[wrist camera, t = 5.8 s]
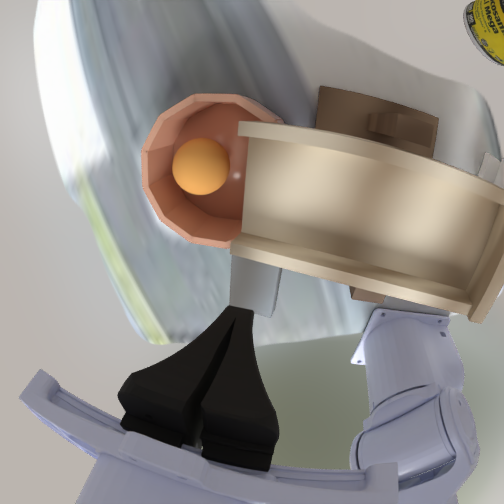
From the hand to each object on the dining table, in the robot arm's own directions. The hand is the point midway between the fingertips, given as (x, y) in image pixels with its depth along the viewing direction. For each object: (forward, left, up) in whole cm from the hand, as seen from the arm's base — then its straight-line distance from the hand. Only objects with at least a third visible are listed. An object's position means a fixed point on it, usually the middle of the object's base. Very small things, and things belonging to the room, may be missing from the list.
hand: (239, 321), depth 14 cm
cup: (+4, -6, -10) cm, 12 cm away
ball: (+5, -6, -7) cm, 11 cm away
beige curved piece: (-7, -4, -6) cm, 10 cm away
